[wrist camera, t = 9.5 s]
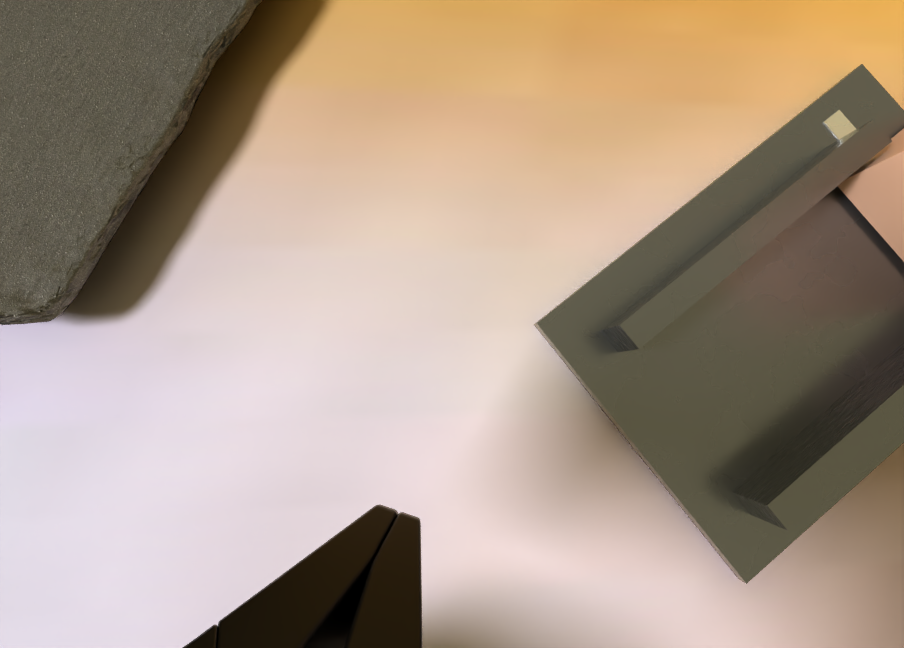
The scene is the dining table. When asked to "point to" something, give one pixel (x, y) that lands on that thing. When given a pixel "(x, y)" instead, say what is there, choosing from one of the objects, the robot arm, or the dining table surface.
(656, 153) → the dining table surface
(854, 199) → the block
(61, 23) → the serving board
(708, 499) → the grey railed base plate
